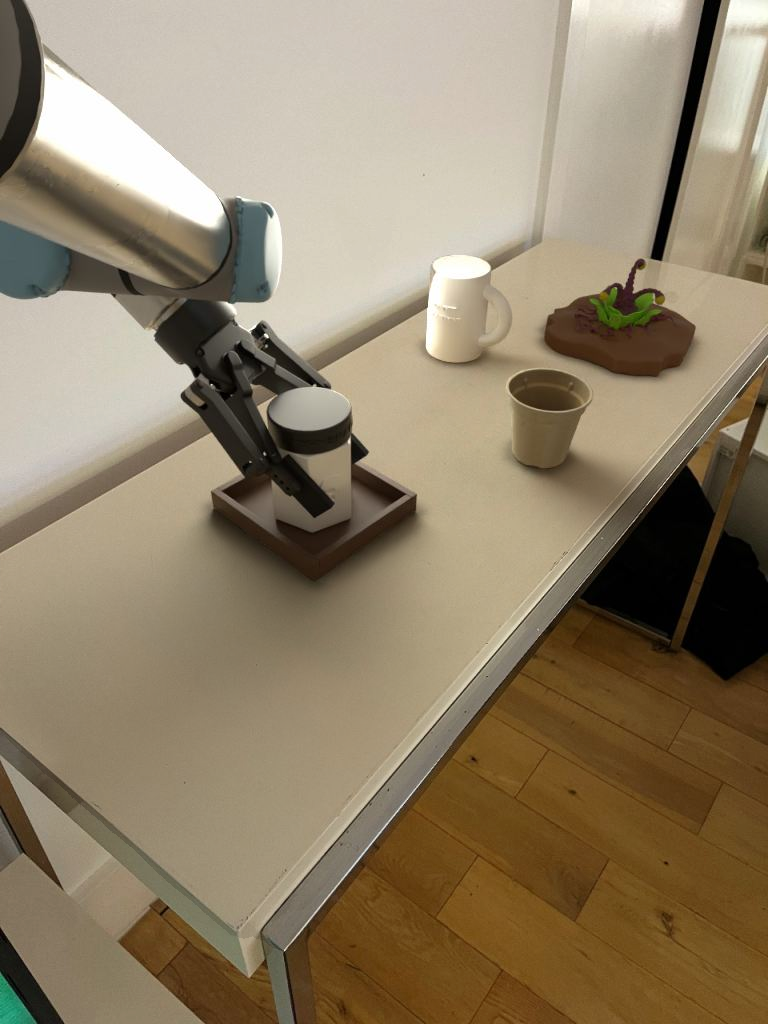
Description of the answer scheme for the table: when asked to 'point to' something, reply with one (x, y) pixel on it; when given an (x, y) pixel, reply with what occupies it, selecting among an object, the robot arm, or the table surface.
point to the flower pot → (545, 414)
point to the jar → (314, 451)
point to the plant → (621, 329)
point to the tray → (321, 551)
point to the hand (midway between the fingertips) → (342, 483)
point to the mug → (463, 309)
